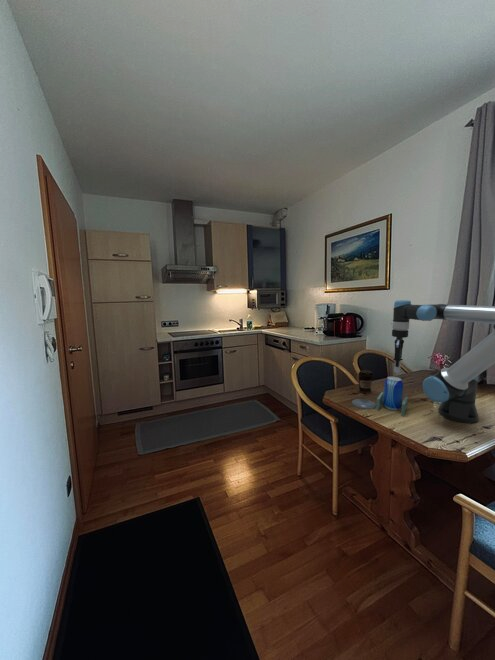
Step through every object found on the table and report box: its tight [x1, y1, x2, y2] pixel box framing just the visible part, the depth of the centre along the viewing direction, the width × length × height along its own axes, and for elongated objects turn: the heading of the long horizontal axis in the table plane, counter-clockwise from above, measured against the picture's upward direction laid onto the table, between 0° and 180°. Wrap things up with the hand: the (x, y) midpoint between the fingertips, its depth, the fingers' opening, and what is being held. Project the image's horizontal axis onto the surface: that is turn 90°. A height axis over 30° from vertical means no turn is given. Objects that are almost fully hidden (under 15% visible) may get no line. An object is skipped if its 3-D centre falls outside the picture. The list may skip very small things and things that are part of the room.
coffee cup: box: [358, 370, 374, 394], centre depth 157 cm, size 9×8×13 cm
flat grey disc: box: [351, 398, 377, 410], centre depth 141 cm, size 12×12×1 cm
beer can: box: [382, 376, 404, 411], centre depth 135 cm, size 8×8×16 cm
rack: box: [375, 391, 409, 417], centre depth 135 cm, size 12×13×6 cm
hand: (396, 371), depth 141 cm, fingers closed
